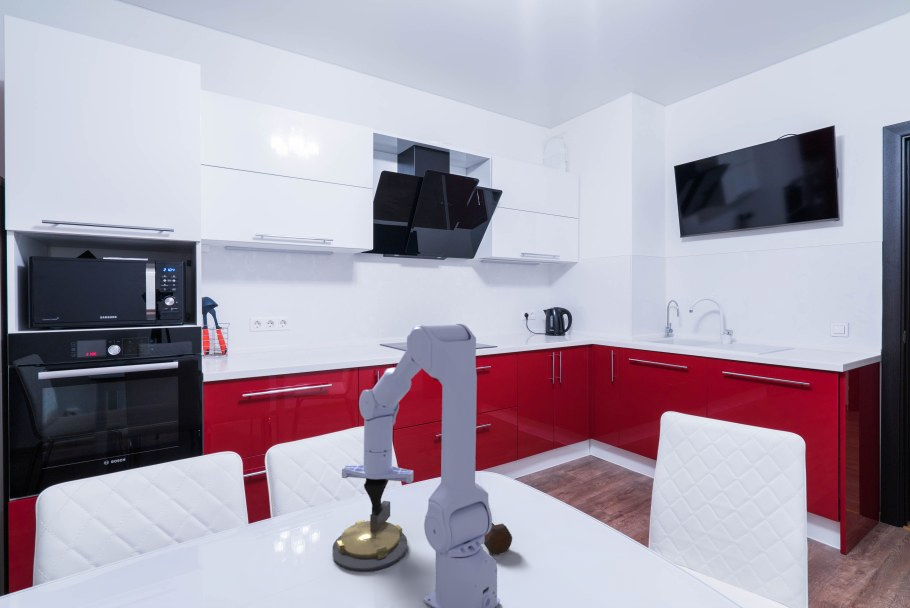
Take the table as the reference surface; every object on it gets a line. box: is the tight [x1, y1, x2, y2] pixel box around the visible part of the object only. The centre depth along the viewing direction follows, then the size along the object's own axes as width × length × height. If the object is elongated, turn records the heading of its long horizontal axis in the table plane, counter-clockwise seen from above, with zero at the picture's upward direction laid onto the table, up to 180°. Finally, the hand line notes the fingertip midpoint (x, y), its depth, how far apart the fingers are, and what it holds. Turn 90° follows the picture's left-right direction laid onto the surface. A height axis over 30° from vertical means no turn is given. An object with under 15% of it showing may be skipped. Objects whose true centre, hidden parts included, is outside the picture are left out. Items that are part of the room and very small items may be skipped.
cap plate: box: [332, 532, 408, 573], centre depth 86 cm, size 14×14×1 cm
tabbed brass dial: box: [337, 500, 403, 559], centre depth 86 cm, size 12×12×4 cm
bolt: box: [483, 522, 513, 556], centre depth 92 cm, size 6×5×15 cm
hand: (376, 514), depth 92 cm, fingers closed, pressing on tabbed brass dial
